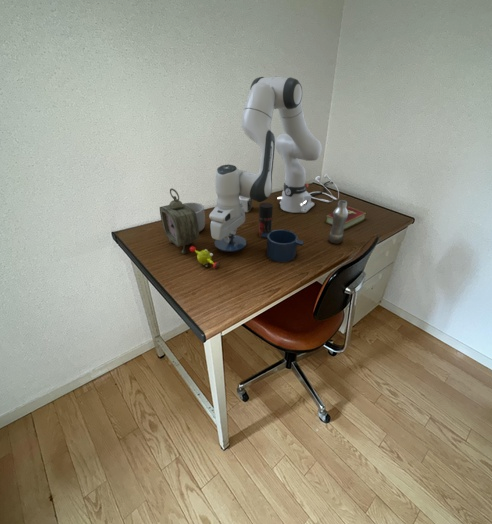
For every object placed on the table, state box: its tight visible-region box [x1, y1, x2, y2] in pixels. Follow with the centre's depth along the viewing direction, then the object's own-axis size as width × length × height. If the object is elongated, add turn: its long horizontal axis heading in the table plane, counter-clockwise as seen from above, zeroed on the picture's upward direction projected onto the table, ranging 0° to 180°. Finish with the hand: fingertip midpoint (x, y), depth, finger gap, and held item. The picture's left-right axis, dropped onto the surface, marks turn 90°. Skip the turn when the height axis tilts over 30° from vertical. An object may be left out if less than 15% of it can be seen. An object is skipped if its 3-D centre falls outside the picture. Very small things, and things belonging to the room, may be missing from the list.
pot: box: [260, 229, 305, 263], centre depth 112 cm, size 12×18×8 cm
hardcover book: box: [325, 206, 367, 231], centre depth 145 cm, size 12×21×4 cm, turn 136°
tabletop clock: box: [159, 188, 200, 255], centre depth 107 cm, size 14×9×25 cm, turn 45°
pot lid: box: [213, 233, 247, 253], centre depth 112 cm, size 13×13×5 cm
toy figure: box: [188, 245, 221, 270], centre depth 101 cm, size 18×6×7 cm, turn 48°
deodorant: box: [258, 202, 274, 238], centre depth 123 cm, size 6×6×15 cm
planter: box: [182, 202, 206, 233], centre depth 124 cm, size 12×12×11 cm
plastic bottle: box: [328, 199, 348, 245], centre depth 121 cm, size 6×7×20 cm
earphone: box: [308, 173, 340, 204], centre depth 172 cm, size 14×17×18 cm
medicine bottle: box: [239, 196, 253, 213], centre depth 146 cm, size 7×7×12 cm
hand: (230, 240), depth 112 cm, fingers closed on pot lid, 2 cm apart
